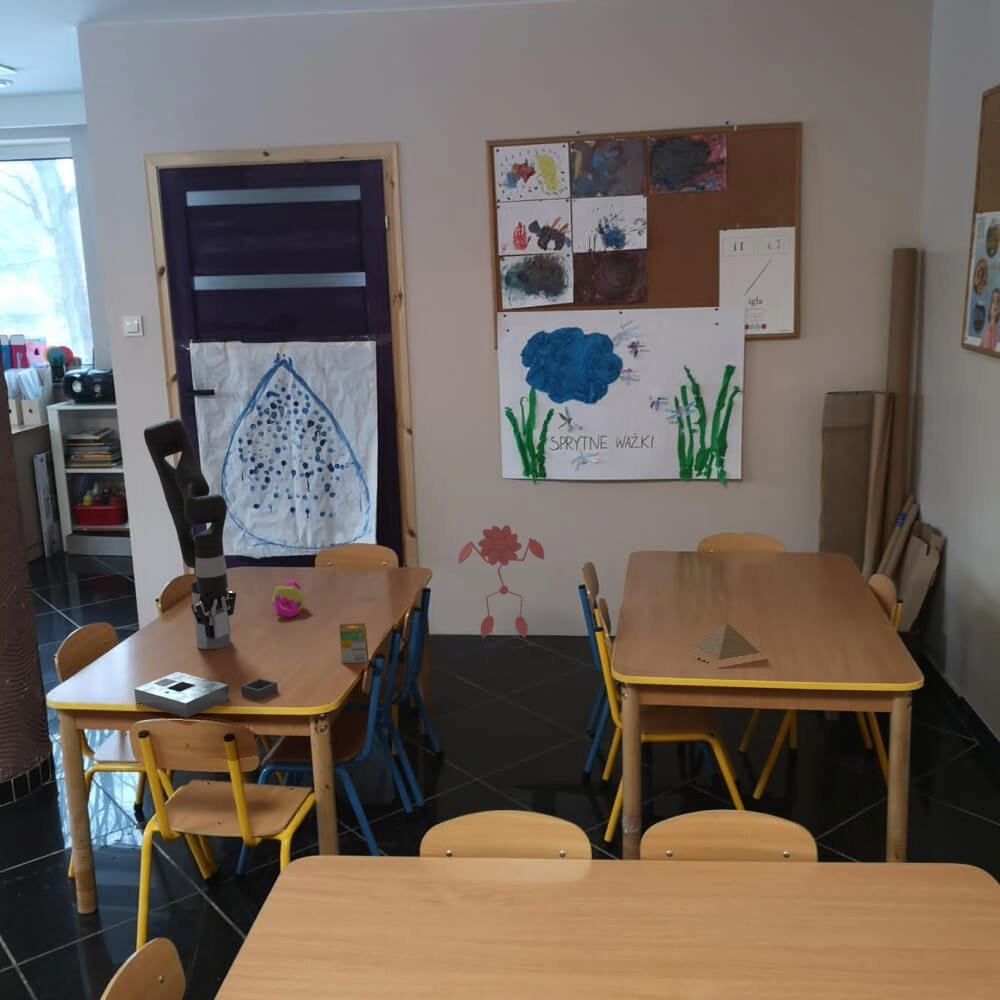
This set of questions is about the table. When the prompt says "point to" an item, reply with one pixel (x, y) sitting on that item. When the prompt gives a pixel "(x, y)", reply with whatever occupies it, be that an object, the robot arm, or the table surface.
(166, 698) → the port panel
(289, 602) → the toy
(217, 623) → the plug
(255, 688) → the dark grey square frame
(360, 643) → the crayon box
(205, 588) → the robot arm
